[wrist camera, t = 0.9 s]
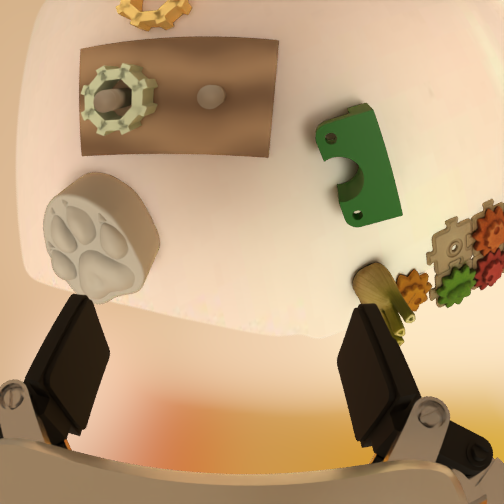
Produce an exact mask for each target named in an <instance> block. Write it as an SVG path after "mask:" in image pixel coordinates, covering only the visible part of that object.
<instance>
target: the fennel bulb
mask: <svg viewBox="0 0 504 504" xmlns="http://www.w3.org/2000/svg"><path fill="white" fill-rule="evenodd" d="M353 289H354V291H355V293H356V295H357V296H358V298H359V300H360V302H361V304H367V303H375V304H376V305H377V306H378V308H379V310H380V312H381V314H382V316H383V319H384V321H385V323H386V325H387V327H388V329H389V331H390V333H391V336H392V338H394V339H396V341H397V342H398V344H399V346H401V345H402V344H403V343H404V340H403V338H402V336H404V335H405V328H404V326H403V323H402V321H401V318H400V316H399V314H400V315H401V316H402V318H403V319H404V321H405V322H406V323H412V322H413V321H415V314H414V313H413V311H412V310H411V309H410V307H409V306H408V304H407V303H406V301H405V300H404V298H403V296H402V295H401V293H400V291H399V289H398V287H397V285H396V283H395V281H394V279H393V277H392V275H391V273H390V272H389V271H388V269H387V268H386V267H385V266H383V265H382V264H380V263H373V264H371V265H369V266H366V267H365V268H362V269H361V270H359V271H358V273H357V274H356V275H355V277H354V280H353ZM398 312H399V314H398Z"/></svg>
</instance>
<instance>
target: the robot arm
mask: <svg viewBox="0 0 504 504" xmlns="http://www.w3.org/2000/svg"><path fill="white" fill-rule="evenodd" d="M109 356H110V350H109V347H108V344H107V341H106V339H105V336H104V333H103V330H102V328H101V325H100V322H99V319H98V316H97V313H96V310H95V307H94V304H93V301H92V300H91V299H89V298H88V296H87V295H80V294H72V295H71V296H70V297H69V299H68V301H67V302H66V304H65V306H64V307H63V309H62V311H61V312H60V314H59V316H58V317H57V319H56V321H55V322H54V324H53V326H52V328H51V330H50V331H49V333H48V335H47V337H46V338H45V340H44V342H43V344H42V346H41V347H40V349H39V351H38V353H37V355H36V357H35V359H34V361H33V363H32V365H31V367H30V369H29V371H28V373H27V375H26V377H25V380H24V382H21V381H19V380H9V381H7V382H5V383H4V384H2V385H1V387H0V504H504V463H503V462H502V461H501V460H500V459H499V458H496V459H494V458H493V450H492V447H491V445H490V443H489V442H488V441H487V440H486V439H485V438H483V437H481V436H479V435H477V434H475V433H473V432H472V431H470V430H468V429H465V428H464V427H462V426H460V425H458V424H456V423H454V422H452V421H450V413H449V410H448V408H447V406H446V405H445V404H444V403H443V402H442V401H441V400H439V399H438V398H435V397H427V396H426V397H423V398H422V397H421V395H420V393H419V391H418V388H417V386H416V383H415V381H414V378H413V376H412V374H411V371H410V369H409V367H408V364H407V362H406V360H405V358H404V355H403V353H402V351H401V349H400V347H399V344H398V342H397V341H396V339H394V338H392V336H391V333H390V331H389V329H388V327H387V325H386V323H385V321H384V319H383V316H382V314H381V312H380V310H379V308H378V306H377V305H376V304H375V303H367V304H360V305H359V306H358V308H354V310H353V313H352V316H351V319H350V322H349V325H348V328H347V331H346V334H345V337H344V340H343V343H342V346H341V349H340V351H339V355H338V358H337V366H338V370H339V374H340V377H341V381H342V385H343V389H344V393H345V397H346V401H347V405H348V409H349V413H350V417H351V421H352V425H353V430H354V433H355V438H356V440H357V441H360V442H361V446H362V448H363V447H369V446H372V447H373V451H374V453H375V454H374V456H373V458H372V460H371V461H370V463H369V464H366V465H359V466H353V467H346V468H338V469H330V470H320V471H311V472H299V473H285V474H248V475H247V474H246V475H245V474H212V473H198V472H186V471H176V470H168V469H160V468H153V467H146V466H140V465H134V464H129V463H123V462H118V461H113V460H109V459H104V458H100V457H96V456H92V455H88V454H84V453H80V452H76V451H72V450H71V448H70V445H69V443H68V441H67V436H68V433H71V434H74V435H78V436H80V435H81V431H82V430H84V429H85V428H86V426H87V423H88V419H89V416H90V413H91V410H92V407H93V404H94V400H95V398H96V394H97V391H98V388H99V385H100V383H101V380H102V377H103V374H104V371H105V368H106V365H107V363H108V360H109Z"/></svg>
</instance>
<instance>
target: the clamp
mask: <svg viewBox="0 0 504 504" xmlns="http://www.w3.org/2000/svg"><path fill="white" fill-rule="evenodd" d="M347 110H348V112H349V114H346V115H343V116H340V117H336V118H333V119H330V120H327V121H324V122H322V123H321V124H320V125H319V126H318V127H317V129H316V137H315V138H316V143H317V145H318V148H319V150H320V153H321V155H322V158H323V160H324V161H326V160H328V159H330V158H333V157H346V158H349V159H351V160H353V161H354V162H356V163H357V164H358V165H359V167H358V171H357V173H356V175H355V176H354V177H353V178H352V179H351V180H350V181H348V182H346V183H342V184H337V188H338V197H339V204H340V207H341V210H342V212H343V215H344V218H345V221H346V222H347V223H348V224H349V225H350V226H353V227H362V226H365V225H369V224H373V223H377V222H380V221H384V220H388V219H391V218H395V217H399V216H402V215H403V214H402V209H401V204H400V200H399V196H398V192H397V188H396V184H395V180H394V176H393V172H392V168H391V165H390V161H389V158H388V154H387V151H386V147H385V144H384V141H383V137H382V134H381V131H380V128H379V125H378V122H377V119H376V116H375V113H374V110H373V109H372V108H371V107H370V106H369V105H368V104H367V103H363V104H360V105H357V106H353V107H350V108H347ZM328 133H334V134H335V135H336V138H335V139H333V140H327V139H326V138H325V136H326V135H327V134H328ZM357 210H359V211H361V212H360V213H357V214H356V213H353V212H354V211H357Z"/></svg>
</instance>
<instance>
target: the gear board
mask: <svg viewBox="0 0 504 504" xmlns="http://www.w3.org/2000/svg"><path fill="white" fill-rule="evenodd" d="M278 45H279V41H278V40H269V39H257V38H241V37H173V38H157V39H145V40H136V41H127V42H119V43H112V44H106V45H100V46H94V47H89V48H83V49H81V51H80V75H79V112H80V137H81V152H82V156H94V155H116V154H211V155H234V156H252V157H266V158H268V157H269V146H270V135H271V124H272V113H273V102H274V91H275V80H276V69H277V57H278ZM122 63H125V64H133V65H137V66H140V67H143V69H142V71H141V72H142V73H143V74H144V75H145V76H146V77H147V78H148V79H155V80H156V82H157V85H158V87H157V88H154V94H153V103H155V104H158V105H157V107H156V110H155V112H154V113H152V114H149V115H146V116H144V118H143V119H142V120H141V121H140V122H141V124H142V126H140V127H138V128H135V129H133V130H131V131H129V132H127V133H125V134H123V135H121V132H120V130H117V131H114V132H112V133H110V134H107V135H105V136H103V135H100V134H97V133H96V132H97V129H98V128H97V127H96V126H95V125H94V124H93V123H92V122H91V121H90V120H89V119H88V120H85V121H84V120H83V117H82V115H81V112H83V111H84V110H85V95H82V94H81V91H82V88H83V86H84V85H89V84H90V83H91V82H92V81H93V80H94V78H95V77H96V76H97V72H96V70H97V69H99V68H101V67H102V66H118V67H119V68H121V65H122ZM93 104H94V107H95V109H96V110H97V111H98V112H101V113H105V112H109V111H114V112H115V113H116V114H117V115H118V116H124V115H125V113H126V112H127V111H128V110H129V109H130V108H131V107H132V89H131V88H130V87H129V86H128V85H127V84H125V83H124V82H123V81H122V80H119V81H118V82H117V83H116V84H115V85H114V87H113V88H112V89H109V90H102V91H100V92H98V93H97V94H96V95H95V97H94V101H93Z"/></svg>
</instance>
